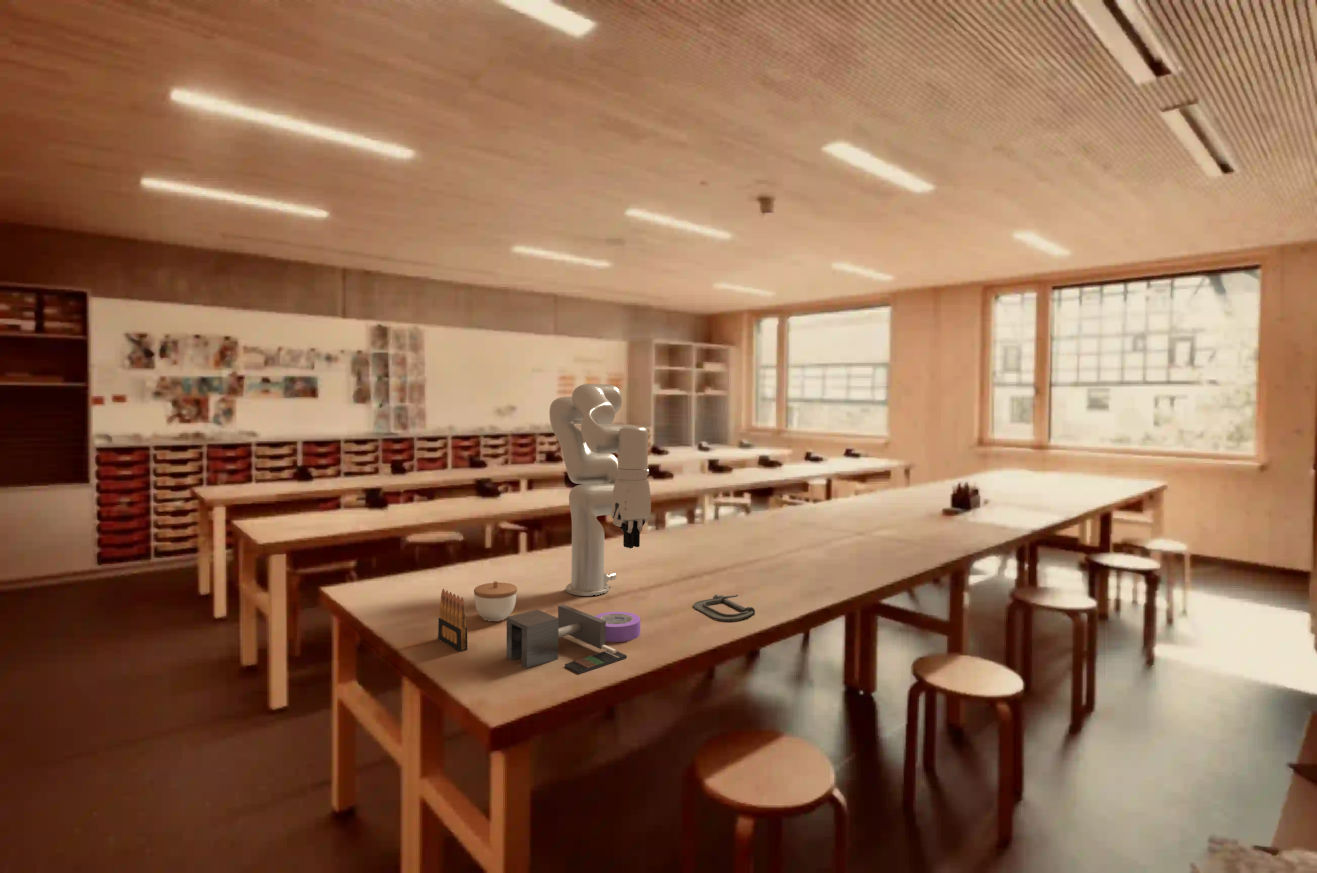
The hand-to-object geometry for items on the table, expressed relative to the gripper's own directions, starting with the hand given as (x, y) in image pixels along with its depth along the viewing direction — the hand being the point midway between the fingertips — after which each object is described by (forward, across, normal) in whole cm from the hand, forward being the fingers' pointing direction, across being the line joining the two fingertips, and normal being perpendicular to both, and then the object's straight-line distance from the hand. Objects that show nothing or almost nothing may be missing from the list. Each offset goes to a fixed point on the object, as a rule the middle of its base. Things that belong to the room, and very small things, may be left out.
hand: (631, 546), depth 173 cm
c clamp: (+20, -26, +10) cm, 35 cm away
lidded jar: (+19, +25, -24) cm, 40 cm away
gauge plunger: (+18, +27, +7) cm, 33 cm away
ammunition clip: (+19, +42, -14) cm, 48 cm away
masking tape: (+20, +9, +5) cm, 22 cm away
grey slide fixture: (+19, +27, +10) cm, 35 cm away
